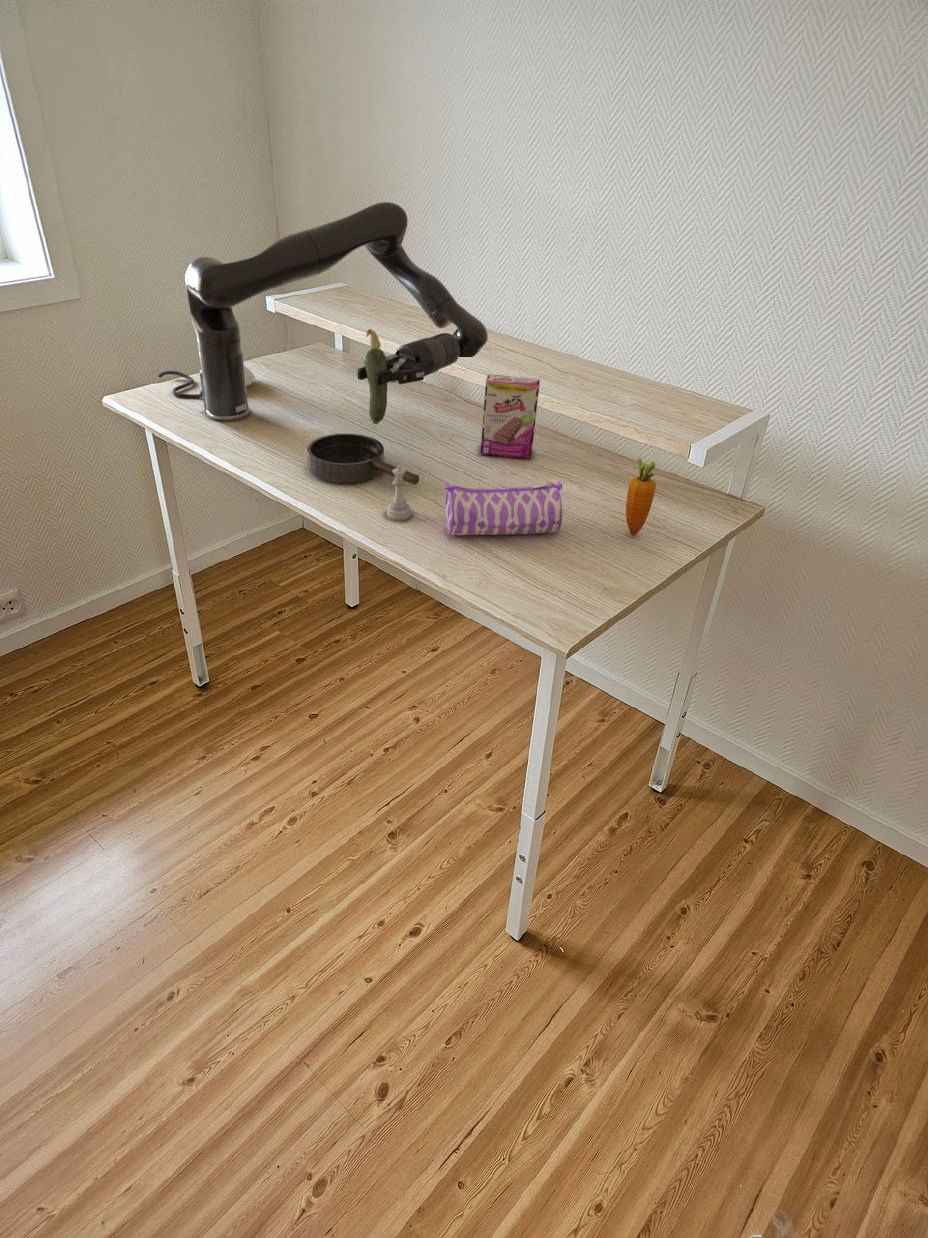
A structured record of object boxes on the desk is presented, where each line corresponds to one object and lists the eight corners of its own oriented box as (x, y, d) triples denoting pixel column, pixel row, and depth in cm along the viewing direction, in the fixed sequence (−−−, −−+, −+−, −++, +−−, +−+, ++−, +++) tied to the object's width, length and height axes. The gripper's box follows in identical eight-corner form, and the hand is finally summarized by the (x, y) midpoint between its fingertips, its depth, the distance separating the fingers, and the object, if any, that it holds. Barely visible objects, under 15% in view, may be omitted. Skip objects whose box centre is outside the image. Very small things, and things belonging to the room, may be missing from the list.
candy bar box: (479, 455, 178) (484, 381, 169) (481, 446, 182) (486, 373, 173) (531, 460, 177) (539, 385, 168) (532, 450, 182) (540, 377, 172)
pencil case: (552, 515, 157) (558, 470, 152) (567, 540, 150) (574, 493, 145) (438, 522, 153) (439, 475, 148) (447, 548, 146) (449, 499, 140)
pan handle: (370, 469, 164) (369, 460, 163) (376, 466, 165) (376, 457, 164) (412, 486, 159) (412, 476, 158) (419, 482, 160) (419, 473, 159)
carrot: (616, 528, 154) (629, 453, 146) (642, 528, 155) (657, 454, 146) (623, 542, 150) (637, 465, 142) (649, 542, 151) (665, 466, 142)
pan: (292, 469, 168) (290, 449, 166) (345, 447, 179) (344, 427, 176) (347, 493, 161) (347, 471, 158) (399, 467, 171) (399, 447, 169)
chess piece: (384, 511, 156) (383, 462, 150) (406, 508, 157) (406, 459, 151) (391, 522, 152) (390, 472, 146) (413, 519, 154) (414, 469, 148)
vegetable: (391, 423, 177) (390, 328, 165) (381, 430, 173) (379, 334, 162) (373, 419, 178) (371, 324, 166) (363, 426, 175) (360, 330, 163)
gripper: (396, 333, 180) (341, 350, 169) (447, 348, 173) (394, 367, 162) (396, 367, 184) (342, 386, 173) (446, 383, 178) (394, 404, 166)
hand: (367, 377), depth 167 cm, fingers closed on vegetable, 4 cm apart
